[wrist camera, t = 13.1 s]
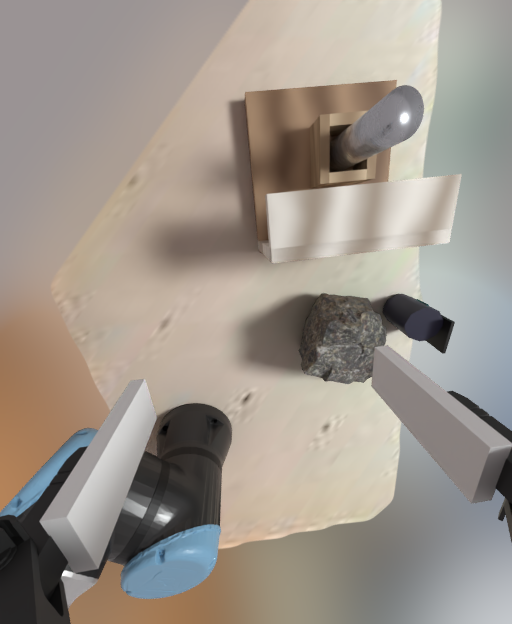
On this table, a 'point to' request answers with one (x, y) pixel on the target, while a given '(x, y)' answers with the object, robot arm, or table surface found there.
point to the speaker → (419, 321)
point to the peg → (378, 128)
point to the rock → (341, 339)
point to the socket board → (334, 180)
